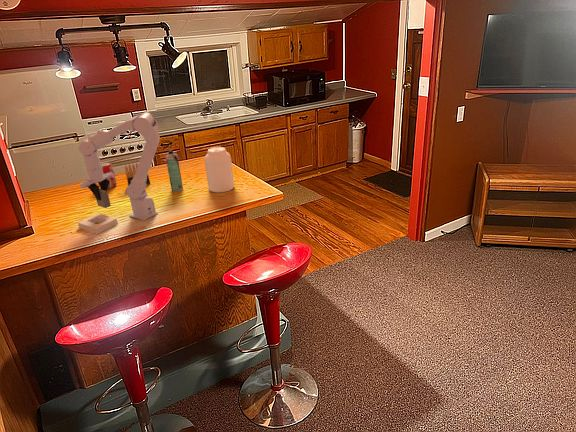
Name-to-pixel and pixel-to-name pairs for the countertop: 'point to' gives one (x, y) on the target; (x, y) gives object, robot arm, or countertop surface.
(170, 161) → the spray can
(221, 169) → the white plastic jar
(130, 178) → the ammunition clip
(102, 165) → the soda can
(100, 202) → the key peg
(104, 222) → the socket block
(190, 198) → the countertop surface
